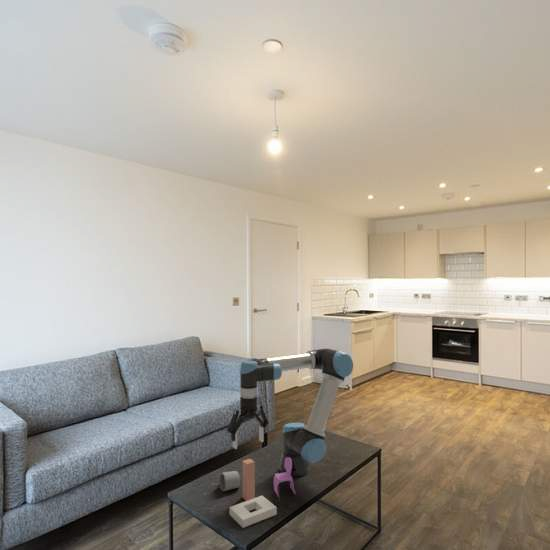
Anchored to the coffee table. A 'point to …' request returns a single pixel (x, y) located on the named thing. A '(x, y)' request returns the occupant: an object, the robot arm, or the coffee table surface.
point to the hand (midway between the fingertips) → (248, 444)
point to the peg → (248, 479)
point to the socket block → (246, 518)
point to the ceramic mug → (229, 480)
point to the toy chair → (284, 476)
